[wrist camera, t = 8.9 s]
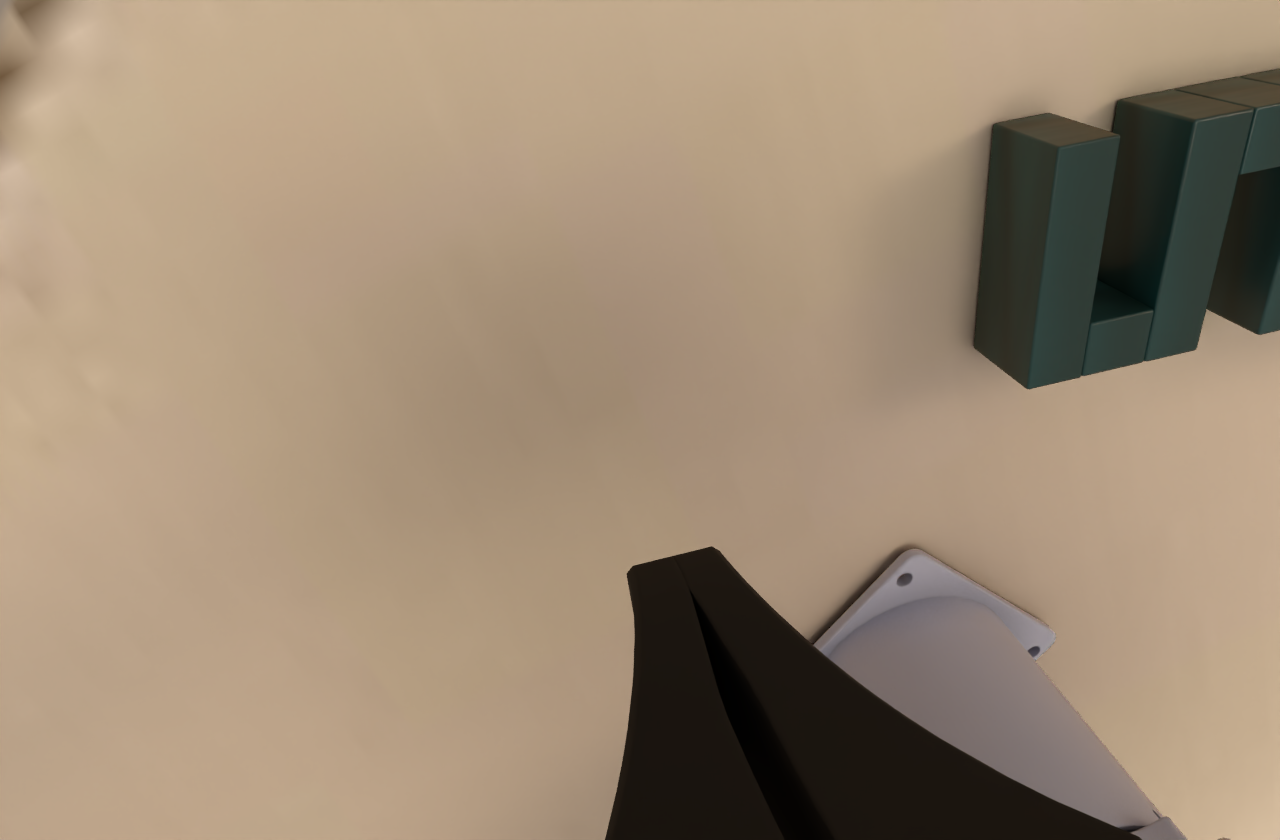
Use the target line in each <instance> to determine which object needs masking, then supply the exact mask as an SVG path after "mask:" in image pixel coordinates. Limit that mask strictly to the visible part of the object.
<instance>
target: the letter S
mask: <svg viewBox="0 0 1280 840" xmlns="http://www.w3.org/2000/svg"><path fill="white" fill-rule="evenodd" d="M1206 309H1207V310H1209V311H1211V312H1213V313H1215V314H1217V315H1219V316H1221V317H1223V318H1225V319H1227V320H1229V321H1231V322H1233V323H1235V324H1237V325H1239V326H1241V327H1243V328H1245V329H1247V330H1249V331H1251V332H1253V333H1255V334H1258V335H1261V334H1266V333H1270V332H1274V331H1279V330H1280V69H1276V70H1271V71H1266V72H1261V73H1256V74H1250V75H1245V76H1241V77H1233V78H1228V79H1223V80H1218V81H1213V82H1207V83H1202V84H1197V85H1192V86H1187V87H1182V88H1176V89H1174V90H1167V91H1162V92H1157V93H1152V94H1146V95H1141V96H1136V97H1131V98H1126V99H1121V100H1119V101H1118V103H1117V109H1116V115H1115V122H1114V128H1113V133H1112V132H1109V131H1105V130H1102V129H1099V128H1096V127H1093V126H1089V125H1086V124H1083V123H1080V122H1077V121H1073V120H1070V119H1067V118H1064V117H1061V116H1058V115H1054V114H1051V113H1047V114H1042V115H1037V116H1031V117H1026V118H1021V119H1016V120H1011V121H1006V122H1000V123H996V124H994V125H993V135H992V146H991V158H990V169H989V180H988V192H987V203H986V214H985V226H984V237H983V249H982V260H981V271H980V283H979V294H978V305H977V317H976V328H975V339H974V348H975V349H976V350H977V351H979V352H980V353H981V354H982V355H984V356H985V357H986V358H988V359H989V360H990V361H991V362H993V363H994V364H995V365H997V366H998V367H999V368H1000V369H1002V370H1003V371H1004V372H1006V373H1007V374H1008V375H1009V376H1011V377H1012V378H1013V379H1014V380H1016V381H1017V382H1018V383H1020V384H1021V385H1022V386H1023V387H1025V388H1026V389H1032V388H1037V387H1041V386H1045V385H1049V384H1054V383H1058V382H1062V381H1066V380H1071V379H1075V378H1079V377H1081V376H1086V375H1091V374H1095V373H1099V372H1103V371H1108V370H1112V369H1116V368H1120V367H1125V366H1129V365H1133V364H1138V363H1141V362H1143V361H1151V360H1155V359H1159V358H1164V357H1168V356H1172V355H1176V354H1181V353H1185V352H1189V351H1193V350H1196V348H1197V345H1198V341H1199V337H1200V333H1201V329H1202V324H1203V320H1204V316H1205V312H1206Z"/></svg>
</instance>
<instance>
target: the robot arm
mask: <svg viewBox="0 0 1280 840" xmlns="http://www.w3.org/2000/svg"><path fill="white" fill-rule="evenodd" d="M902 574H904V575H903V576H901V575H902ZM899 576H901V577H899ZM898 577H899V578H898ZM627 579H628V585H629V590H630V596H631V601H632V607H633V612H634V627H635V646H634V673H633V687H632V696H631V704H630V713H629V722H628V730H627V737H626V743H625V750H624V756H623V761H622V767H621V772H620V777H619V782H618V787H617V792H616V796H615V801H614V805H613V809H612V813H611V817H610V822H609V826H608V830H607V834H606V838H605V840H1187V838H1186V837H1185V836H1184V835H1183V834H1182V832H1181V831H1180V830H1179V829H1178V828H1177V826H1176V825H1175V824H1174V823H1173V822H1172V820H1171V819H1170V818H1169V817H1164V816H1163V815H1162V814H1161V813H1160V812H1159V810H1158V809H1157V808H1156V807H1155V806H1154V804H1153V803H1152V802H1151V801H1150V799H1149V798H1148V797H1147V796H1146V795H1145V793H1144V792H1143V791H1142V790H1141V789H1140V787H1139V786H1138V785H1137V784H1136V783H1135V781H1134V780H1133V779H1132V778H1131V776H1130V775H1129V774H1128V773H1127V772H1126V770H1125V769H1124V768H1123V767H1122V766H1121V764H1120V763H1119V762H1118V761H1117V759H1116V758H1115V757H1114V756H1113V755H1112V753H1111V752H1110V751H1109V750H1108V749H1107V747H1106V746H1105V745H1104V744H1103V743H1102V741H1101V740H1100V739H1099V738H1098V736H1097V735H1096V734H1095V733H1094V732H1093V730H1092V729H1091V728H1090V727H1089V726H1088V724H1087V723H1086V722H1085V721H1084V719H1083V718H1082V717H1081V716H1080V715H1079V713H1078V712H1077V711H1076V710H1075V709H1074V707H1073V706H1072V705H1071V704H1070V703H1069V701H1068V700H1067V699H1066V698H1065V696H1064V695H1063V694H1062V693H1061V692H1060V690H1059V689H1058V688H1057V687H1056V686H1055V684H1054V683H1053V682H1052V681H1051V680H1050V678H1049V677H1048V676H1047V675H1046V673H1045V672H1044V671H1043V670H1042V669H1041V667H1040V666H1039V665H1038V664H1037V663H1036V660H1037V659H1038V658H1039V657H1040V656H1041V655H1042V654H1043V653H1044V652H1045V651H1046V650H1047V649H1049V648H1050V647H1051V646H1052V644H1053V643H1054V641H1055V639H1056V634H1055V633H1054V631H1053V630H1052V629H1051V628H1050V627H1049V626H1048V625H1047V624H1045V623H1043V622H1042V621H1040V620H1038V619H1037V618H1035V617H1033V616H1032V615H1030V614H1028V613H1027V612H1025V611H1023V610H1021V609H1020V608H1018V607H1016V606H1015V605H1013V604H1011V603H1010V602H1008V601H1006V600H1005V599H1003V598H1001V597H1000V596H998V595H996V594H995V593H993V592H991V591H989V590H988V589H986V588H984V587H983V586H981V585H979V584H978V583H976V582H974V581H973V580H971V579H969V578H968V577H966V576H964V575H963V574H961V573H959V572H958V571H956V570H954V569H952V568H951V567H949V566H947V565H946V564H944V563H942V562H941V561H939V560H937V559H936V558H934V557H932V556H931V555H929V554H927V553H926V552H924V551H922V550H920V549H910V550H907V551H905V552H903V553H902V554H901V555H900V556H899V557H898V558H897V559H896V560H895V561H894V562H893V563H892V564H891V565H890V566H889V567H888V568H887V569H886V570H885V571H884V572H883V573H882V574H881V575H880V576H879V577H878V578H877V580H876V581H875V582H874V583H873V584H872V585H871V586H870V587H869V588H868V589H867V590H866V591H865V592H864V593H863V594H862V595H861V596H860V597H859V598H858V599H857V600H856V601H855V602H854V603H853V604H852V605H851V606H850V607H849V608H848V609H847V611H846V612H845V613H844V614H843V615H842V616H841V617H840V618H839V619H838V620H837V621H836V622H835V623H834V624H833V625H832V626H831V627H830V628H829V629H828V630H827V631H826V632H825V633H824V634H823V635H822V636H821V637H820V638H819V639H818V641H817V642H816V643H815V644H814V645H812V644H811V643H810V642H809V641H808V640H807V639H805V638H804V637H803V636H802V635H801V634H800V633H799V632H798V631H797V630H796V629H794V628H793V627H792V626H791V625H790V624H789V623H788V622H787V621H786V620H785V619H784V618H782V617H781V616H780V615H779V614H778V613H777V612H776V611H775V610H774V609H773V608H772V607H771V606H770V605H769V604H768V603H767V602H766V601H765V600H764V599H763V598H762V597H761V596H760V595H759V594H758V593H757V592H756V591H755V590H754V589H753V588H752V587H751V586H750V585H749V584H748V583H747V582H746V581H745V579H744V578H743V577H742V576H741V575H740V574H739V573H738V572H737V571H736V570H735V569H734V567H733V566H732V565H731V564H730V563H729V562H728V561H727V559H726V558H725V557H724V556H723V555H722V553H721V552H720V551H719V550H717V549H715V548H714V547H708V548H704V549H700V550H696V551H692V552H688V553H684V554H680V555H676V556H671V557H667V558H663V559H659V560H655V561H651V562H647V563H643V564H639V565H635V566H633V567H632V568H631V569H630V570H629V571H628V573H627ZM1218 840H1230V839H1228V838H1220V839H1218Z"/></svg>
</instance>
